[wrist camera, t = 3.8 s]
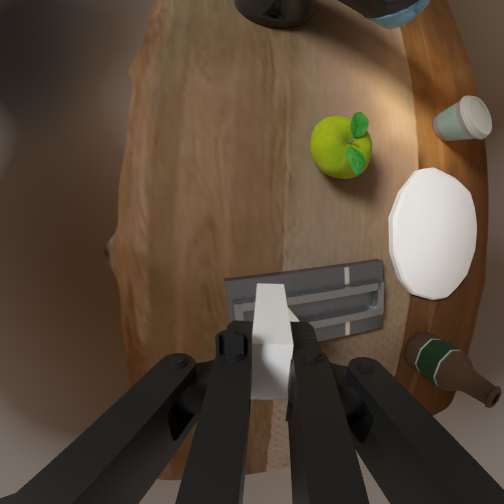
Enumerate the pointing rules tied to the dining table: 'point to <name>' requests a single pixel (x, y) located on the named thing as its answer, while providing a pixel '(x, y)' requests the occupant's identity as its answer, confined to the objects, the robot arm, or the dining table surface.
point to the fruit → (341, 145)
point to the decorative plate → (432, 233)
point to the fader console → (320, 297)
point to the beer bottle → (449, 368)
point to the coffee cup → (463, 120)
